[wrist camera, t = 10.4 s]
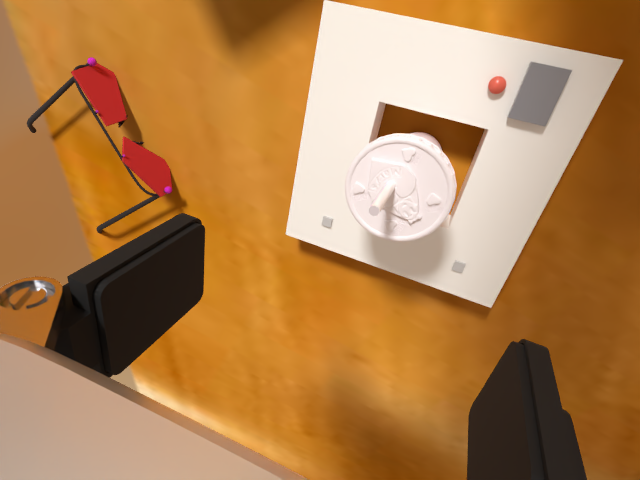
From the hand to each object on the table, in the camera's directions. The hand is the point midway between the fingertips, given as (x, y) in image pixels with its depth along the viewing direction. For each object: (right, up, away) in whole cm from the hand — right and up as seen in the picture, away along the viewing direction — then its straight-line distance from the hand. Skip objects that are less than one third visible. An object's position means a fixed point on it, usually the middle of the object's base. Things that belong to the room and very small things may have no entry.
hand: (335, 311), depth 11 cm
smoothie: (+7, +9, +19) cm, 22 cm away
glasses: (-24, +12, +31) cm, 41 cm away
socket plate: (+8, +9, +19) cm, 22 cm away
